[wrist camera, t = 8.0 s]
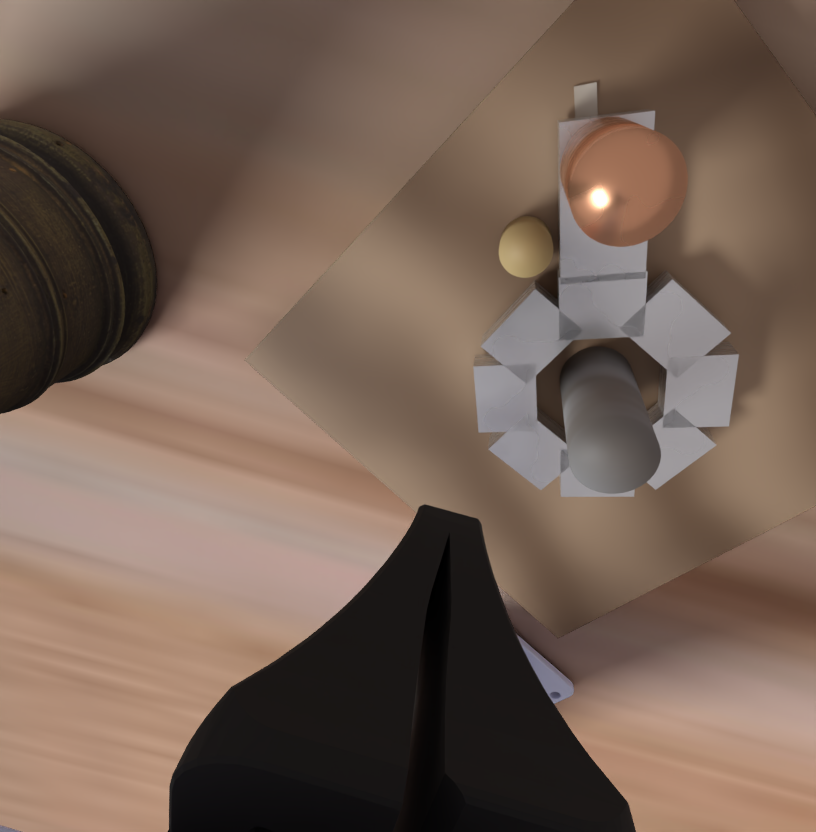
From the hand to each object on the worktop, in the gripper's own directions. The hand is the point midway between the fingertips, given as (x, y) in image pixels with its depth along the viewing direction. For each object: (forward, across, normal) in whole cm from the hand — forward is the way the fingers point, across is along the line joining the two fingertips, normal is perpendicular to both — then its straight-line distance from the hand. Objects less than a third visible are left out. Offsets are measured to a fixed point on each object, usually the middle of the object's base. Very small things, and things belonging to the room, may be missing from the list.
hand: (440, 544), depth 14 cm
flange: (+9, -3, -3) cm, 10 cm away
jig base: (+10, -4, -1) cm, 11 cm away
